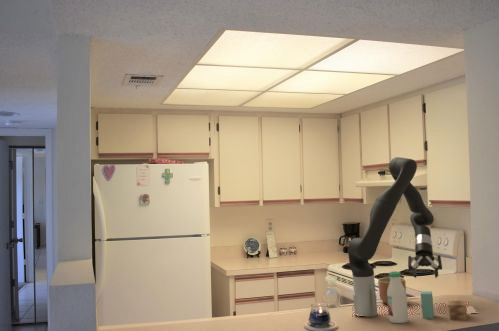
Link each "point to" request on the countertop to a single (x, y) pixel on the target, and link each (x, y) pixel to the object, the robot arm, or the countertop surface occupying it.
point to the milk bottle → (397, 299)
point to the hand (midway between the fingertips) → (425, 276)
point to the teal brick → (427, 304)
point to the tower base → (458, 316)
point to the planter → (386, 287)
